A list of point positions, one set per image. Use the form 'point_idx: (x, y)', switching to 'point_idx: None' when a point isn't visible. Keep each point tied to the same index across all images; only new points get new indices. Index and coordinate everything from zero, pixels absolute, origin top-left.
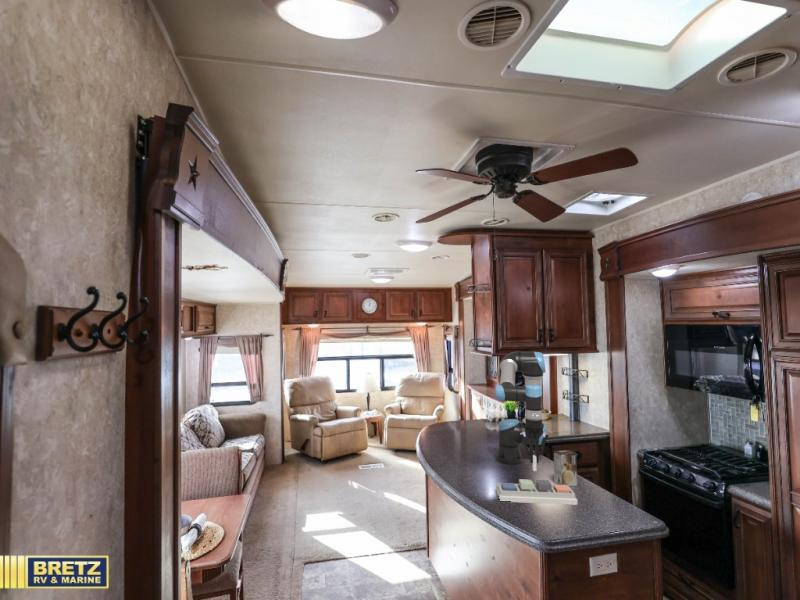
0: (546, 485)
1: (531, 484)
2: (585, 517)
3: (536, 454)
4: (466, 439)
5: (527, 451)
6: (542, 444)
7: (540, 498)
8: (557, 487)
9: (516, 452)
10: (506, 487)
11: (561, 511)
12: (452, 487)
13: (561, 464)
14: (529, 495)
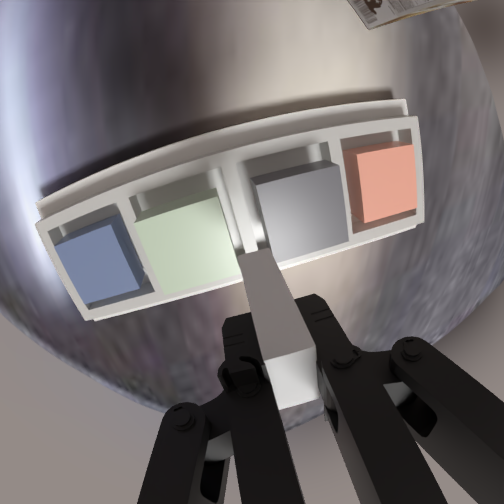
0: (317, 247)
1: (226, 276)
2: (396, 311)
3: (331, 418)
4: None
5: (209, 478)
6: (469, 492)
7: None
8: (370, 193)
9: None
10: (96, 300)
11: (337, 303)
12: None
13: (447, 2)
14: None
